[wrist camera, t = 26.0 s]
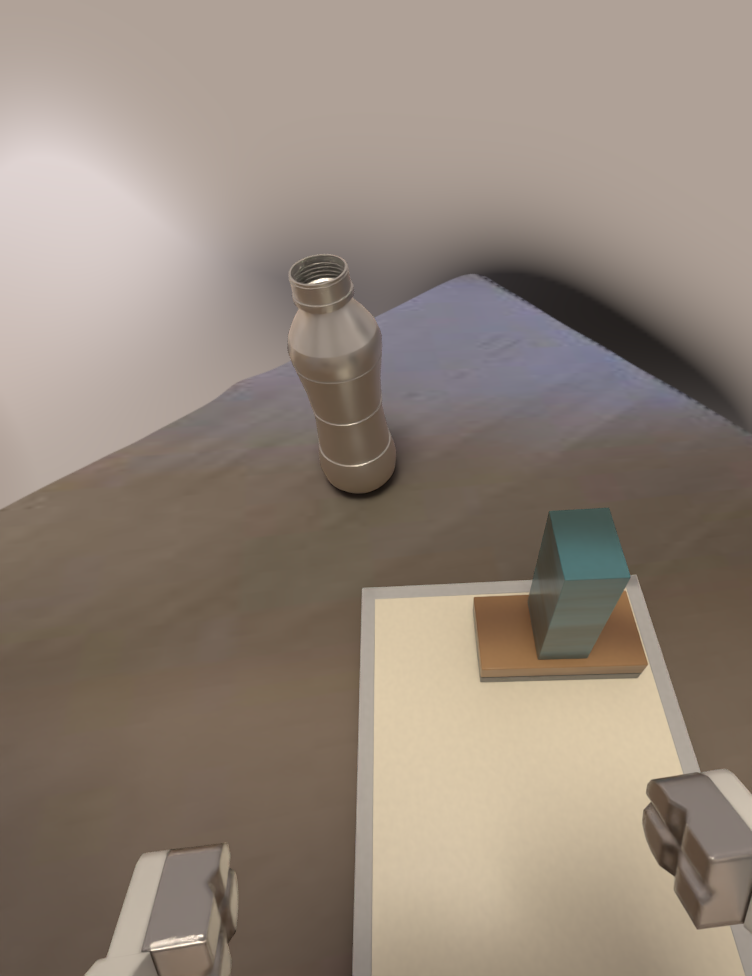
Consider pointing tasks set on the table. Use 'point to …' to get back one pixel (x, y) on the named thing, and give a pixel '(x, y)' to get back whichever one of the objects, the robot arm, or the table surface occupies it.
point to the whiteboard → (513, 808)
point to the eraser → (564, 610)
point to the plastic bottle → (340, 374)
